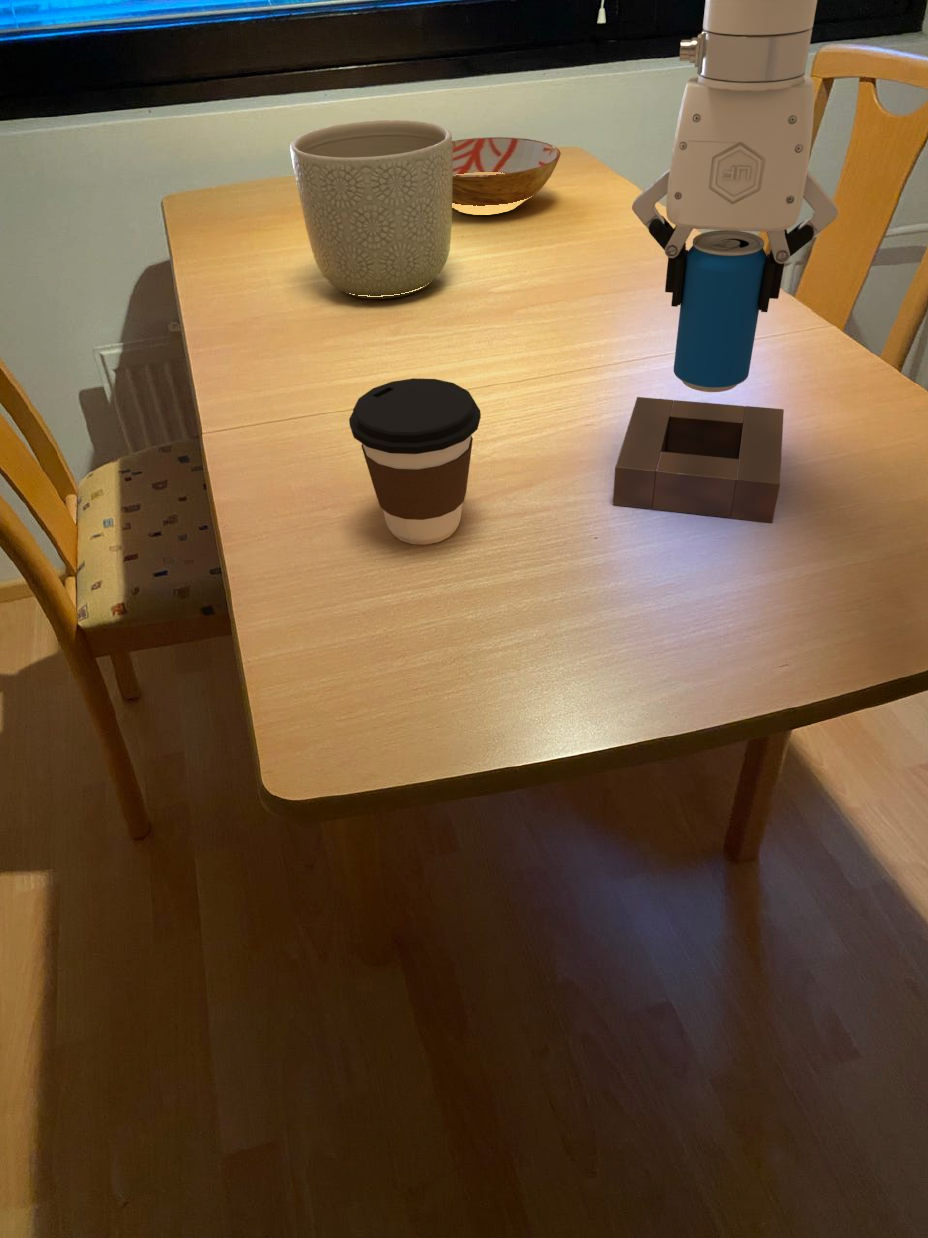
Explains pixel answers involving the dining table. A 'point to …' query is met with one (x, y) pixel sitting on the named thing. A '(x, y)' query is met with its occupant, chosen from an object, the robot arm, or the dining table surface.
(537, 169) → the bowl
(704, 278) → the beverage can
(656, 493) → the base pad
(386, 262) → the planter
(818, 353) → the dining table surface
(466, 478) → the coffee cup
